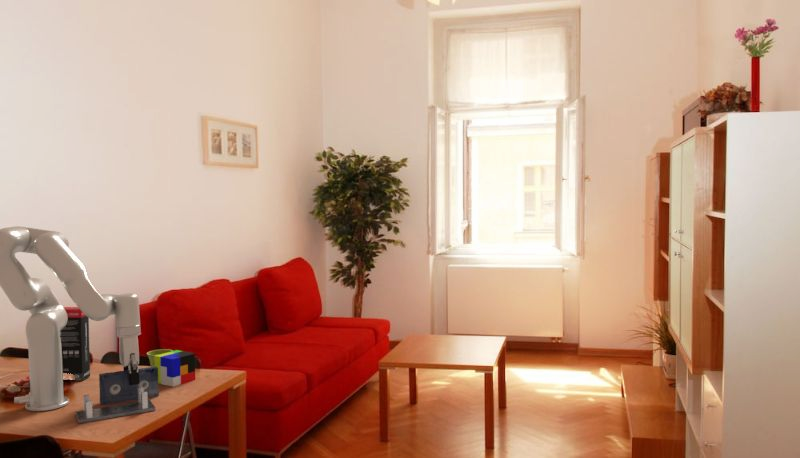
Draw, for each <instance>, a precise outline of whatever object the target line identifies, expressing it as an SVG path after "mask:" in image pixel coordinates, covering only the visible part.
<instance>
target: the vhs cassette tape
mask: <svg viewBox="0 0 800 458" xmlns="http://www.w3.org/2000/svg"><path fill="white" fill-rule="evenodd" d="M138 372H139V384H136V385H129V377H128V373H129V370H125V371H124V370H120V371H119V370H117V371H114V372H104V373H99V374H98V381H99V385H98V387H99V404H100V405H101V406H105V405H110V404H111V403H112V404H118V403H124V402H129V401H130V402H131V401H136V400H137V401H138V391H137V387H142V386H143V388H144V392H147V395H148V399H150V398H154V397H155V398H156V397H159V394H160V391H159V390H160V389H159V383H158V368H157V366H156V367H151V366H150V367H149V366H148V367H141V368H138ZM149 397H150V398H149ZM117 402H118V403H117Z"/></svg>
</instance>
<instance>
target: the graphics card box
mask: <svg viewBox="0 0 800 458" xmlns="http://www.w3.org/2000/svg"><path fill="white" fill-rule="evenodd" d="M63 307H64V309H65V311H66V313H67V316H68V320H67V324H66V326H65V327H64V328H63V329H62V330H61V331H60V340H61V347H62V369H63V373H67V374H68V373H69V374H70V373H71V374H73V375H74V377H75V381H74V382H83V381H85V380H86V379H89V377H91V361H90V359H91V357H90V327H89V326H90V324H89V323H90V321H89V320H90V318H88V317H87V316H86V315H85V314H84V313H83V312H82V311H81V310H80V309H79V307H78V306H63Z"/></svg>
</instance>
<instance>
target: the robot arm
mask: <svg viewBox="0 0 800 458" xmlns="http://www.w3.org/2000/svg"><path fill="white" fill-rule="evenodd" d="M69 243H70V242H69V239H68V237H66V235H65V234H63V233H61V232H59V231H55V230H48V229H47V230H46V229H39V228H33V227H26V226H17V225H16V226H12V227H11V226H10V227H3V228H0V288H1V289H2V291H3V292H4V294H5V295H6V297H7V298H8V300H9V301H10V303H11V304H12V306H13V307H14V308H15V309H17V310H19V311H29V313H30V314H31V315H30V316H29V317H28V319H27V321H26V325H25V335H26V340H27V347H28V348H27V349H28V367H29V368H28V369H29V392H28V394H25V396H14V399H13V403H14V404H18V405H21V404H25V408H24V409H25V410H27V411H30V412H43V411H51V410H56V409H59V408H62V407H64V406H67V405H68V404H69V403H70V399H69V397H67V396H64V381H63V369H62V347H61V340H60V331H61V330H62V329H63V328H64V327H65V326H66V324H67V320H68V316H67V313H66V311H65V309H64V307H65V306H63V304H62V303H61V302H60V299H59V298H58V297H57V295H56V294H55V293H54V292H55V291H53V290H52V288H51V287H50V286H49V284H48V283H47V282H45V280H42V279H40V278H35V277H31V276H30V274H29V273H28V271H27V270H26V268H25V266H24V265H23V264H22V263H21V262H20V261H19V260H18V259H17V258H16V255H15V254H17V253H25V254H34V255H37V257H38V258H39V259H40V260H41V261H42V262H43V263H44V265H45V266H46V267H48V269H49V270H50V271H51V272H52V273H53V274H54V275H55V277H56V278H57V279H58V280H59V281H60V282H61V284H62V286H63V288H64V289H65V291H66V293H67V294H68V296H69V298H70V299H71V301H73V303H74V304H75V305H76V307H79V309H80V310H81V311H82V312H83V313H84V314H85V315H86V316H87V317H88V318H89V320H92V321H95V322H100V321H101V322H102V321H104V320H106V319H108V317H111V316H113V315H115V329H116V333H115V335H116V338H119V339H118V340H119V343H118V344H119V345H118V346H119V347H118V348H119V362H120V365H121V366H122V368H123V371H125V370H129V373H128V377H129V385H136V384H139V372H138V369H139V367H138V365H140V351H139V350H140V349H139V338H138V336H140V335H142V332H141V331H142V330H141V316H140V299H139V298H140V297H139V296H138V295H137V294H136V293H122V294H109V293H106V294H105V293H101V294H100V293H99V292H98V291H97V290H96V289H95V287H94V285H92V283H91V282H90V279H89V277H88V274H87V268H86V266H85V264H84V263H83V262H82V261H81V260H80V259H79V257H77V256H76V254H75V253H74V252H73V251H72V249H70V248H69V246H70V245H69Z"/></svg>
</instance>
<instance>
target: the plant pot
mask: <svg viewBox="0 0 800 458" xmlns="http://www.w3.org/2000/svg"><path fill="white" fill-rule="evenodd" d="M171 351H173V350H172V349H169V348H168V349H165V348H163V349H154V350H150V351H148V352H146V355H147V357H148V359H149V364H150V367H155V360H154V356H155V355H159V354H163V353H167V352H171Z"/></svg>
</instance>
